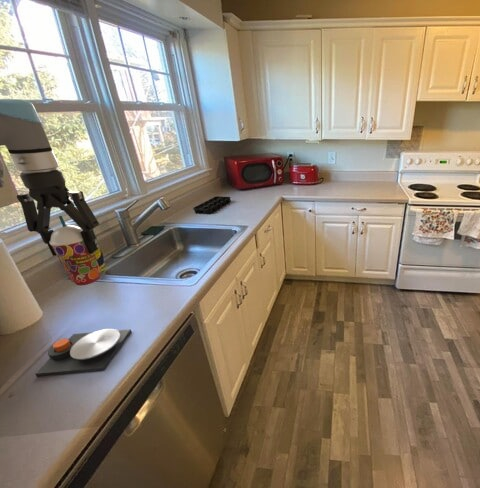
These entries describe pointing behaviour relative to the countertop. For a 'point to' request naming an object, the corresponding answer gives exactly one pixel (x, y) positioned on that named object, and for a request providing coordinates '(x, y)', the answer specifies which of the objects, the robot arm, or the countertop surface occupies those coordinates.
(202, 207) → the egg carton
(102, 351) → the platter
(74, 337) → the scale
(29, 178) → the robot arm
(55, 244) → the smoothie
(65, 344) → the tare button
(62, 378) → the countertop surface
